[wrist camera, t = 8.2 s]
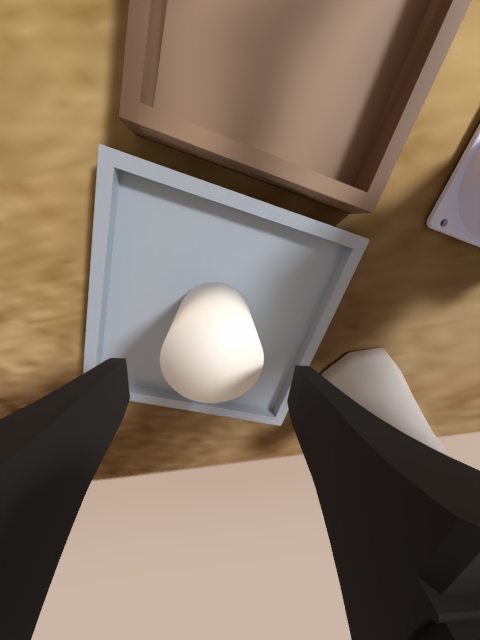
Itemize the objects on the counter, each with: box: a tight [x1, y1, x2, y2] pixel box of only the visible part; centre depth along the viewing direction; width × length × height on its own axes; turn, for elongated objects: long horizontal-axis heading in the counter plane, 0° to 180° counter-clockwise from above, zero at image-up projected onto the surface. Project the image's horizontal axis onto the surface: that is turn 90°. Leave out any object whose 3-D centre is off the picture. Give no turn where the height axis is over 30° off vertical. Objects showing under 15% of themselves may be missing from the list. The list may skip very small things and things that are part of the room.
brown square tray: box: [119, 0, 472, 214], centre depth 11 cm, size 14×14×2 cm
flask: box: [322, 347, 452, 458], centre depth 17 cm, size 7×7×10 cm
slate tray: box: [83, 144, 370, 426], centre depth 17 cm, size 16×16×2 cm
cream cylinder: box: [160, 282, 264, 403], centre depth 14 cm, size 5×5×6 cm
